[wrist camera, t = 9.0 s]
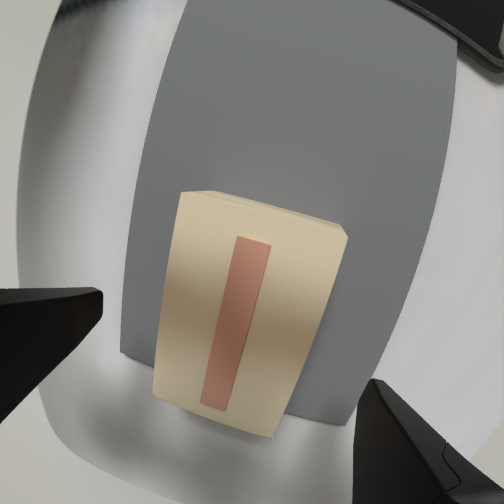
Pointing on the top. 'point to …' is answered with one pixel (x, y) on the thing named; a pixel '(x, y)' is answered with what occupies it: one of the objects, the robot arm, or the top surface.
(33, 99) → the top surface
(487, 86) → the top surface
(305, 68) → the mat
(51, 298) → the robot arm
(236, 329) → the beige wooden block
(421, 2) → the phone
